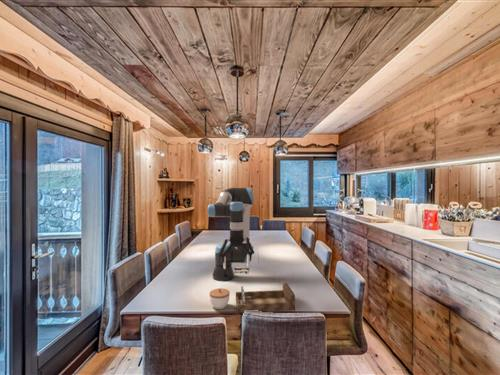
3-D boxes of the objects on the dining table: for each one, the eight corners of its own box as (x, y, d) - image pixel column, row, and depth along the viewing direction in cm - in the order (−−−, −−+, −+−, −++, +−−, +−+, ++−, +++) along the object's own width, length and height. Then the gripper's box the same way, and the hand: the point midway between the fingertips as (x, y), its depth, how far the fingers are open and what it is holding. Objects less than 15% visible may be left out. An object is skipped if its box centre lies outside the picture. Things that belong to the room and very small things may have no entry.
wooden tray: (237, 313, 132) (237, 297, 132) (235, 299, 148) (235, 285, 148) (294, 310, 135) (294, 294, 135) (287, 296, 151) (287, 283, 151)
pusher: (242, 309, 134) (243, 296, 134) (241, 298, 147) (241, 286, 147) (252, 308, 134) (252, 295, 134) (249, 298, 147) (249, 286, 147)
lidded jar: (230, 301, 144) (230, 285, 144) (229, 311, 134) (229, 293, 134) (210, 302, 144) (210, 285, 144) (208, 311, 133) (208, 293, 133)
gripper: (215, 231, 138) (215, 271, 138) (259, 229, 145) (259, 267, 145) (213, 229, 145) (213, 267, 145) (255, 227, 152) (255, 263, 152)
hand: (236, 267), depth 145 cm, fingers open, 13 cm apart
